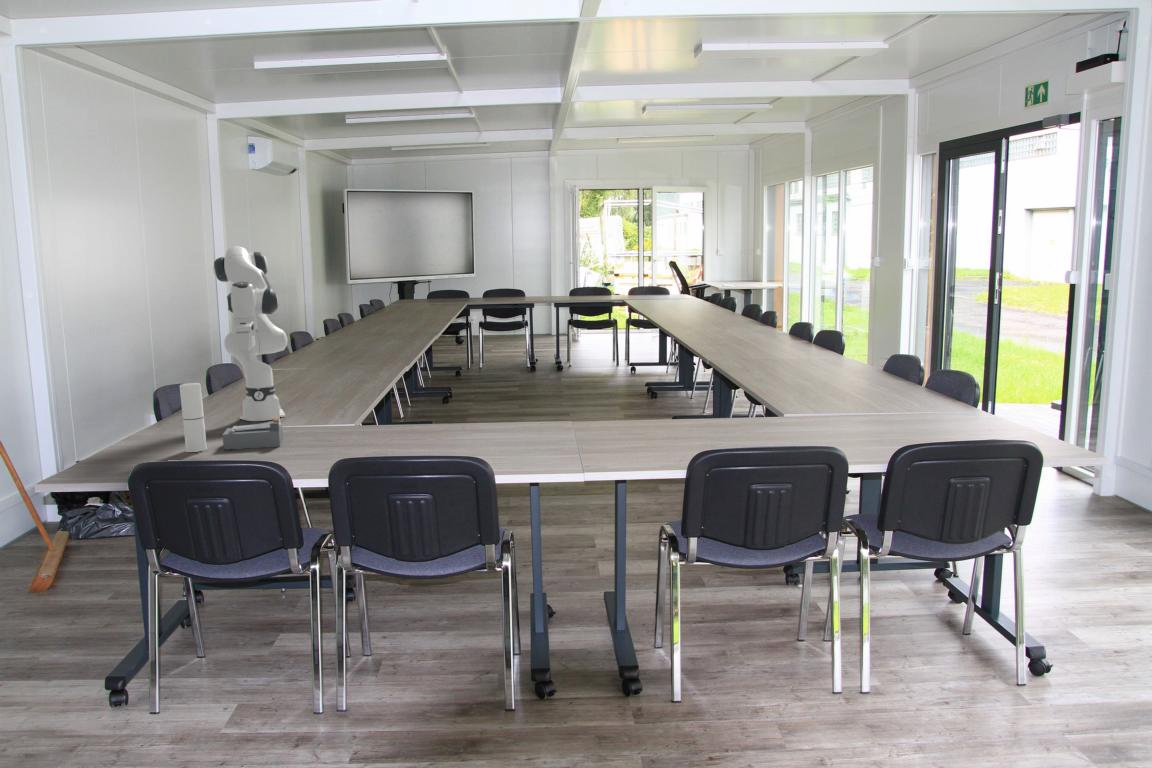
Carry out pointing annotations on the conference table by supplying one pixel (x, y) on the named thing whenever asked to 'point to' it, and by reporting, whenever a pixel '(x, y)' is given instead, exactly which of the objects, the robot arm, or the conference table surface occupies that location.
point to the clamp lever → (255, 426)
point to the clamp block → (253, 437)
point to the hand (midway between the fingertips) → (248, 360)
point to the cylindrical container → (193, 417)
